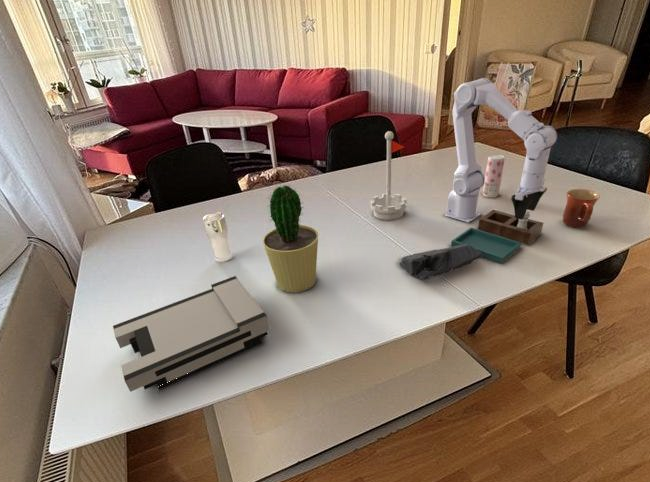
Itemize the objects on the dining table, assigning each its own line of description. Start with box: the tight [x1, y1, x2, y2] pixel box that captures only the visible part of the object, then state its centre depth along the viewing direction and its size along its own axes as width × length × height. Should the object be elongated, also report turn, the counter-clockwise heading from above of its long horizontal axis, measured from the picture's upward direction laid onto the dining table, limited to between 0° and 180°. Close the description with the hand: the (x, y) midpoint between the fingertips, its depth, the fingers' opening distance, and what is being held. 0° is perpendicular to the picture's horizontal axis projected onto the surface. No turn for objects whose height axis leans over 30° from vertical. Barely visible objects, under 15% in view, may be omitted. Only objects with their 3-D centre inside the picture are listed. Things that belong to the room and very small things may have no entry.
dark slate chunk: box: [399, 245, 483, 280], centre depth 114 cm, size 15×22×5 cm
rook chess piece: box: [517, 210, 531, 230], centre depth 123 cm, size 4×4×8 cm
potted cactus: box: [262, 184, 319, 293], centre depth 108 cm, size 15×15×30 cm
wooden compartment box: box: [477, 209, 544, 246], centre depth 127 cm, size 16×9×4 cm, turn 42°
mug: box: [562, 188, 601, 229], centre depth 124 cm, size 12×9×10 cm
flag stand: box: [370, 130, 408, 221], centre depth 140 cm, size 13×13×30 cm
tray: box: [450, 227, 522, 265], centre depth 121 cm, size 16×11×2 cm
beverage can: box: [482, 154, 505, 199], centre depth 149 cm, size 6×6×15 cm
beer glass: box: [202, 211, 234, 263], centre depth 128 cm, size 7×7×15 cm
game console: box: [112, 275, 271, 393], centre depth 95 cm, size 21×32×8 cm, turn 120°
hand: (524, 214), depth 122 cm, fingers open, 7 cm apart
